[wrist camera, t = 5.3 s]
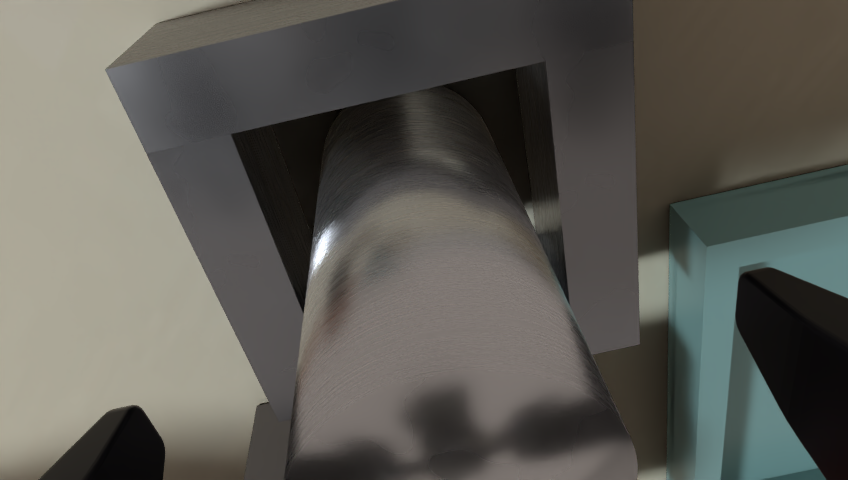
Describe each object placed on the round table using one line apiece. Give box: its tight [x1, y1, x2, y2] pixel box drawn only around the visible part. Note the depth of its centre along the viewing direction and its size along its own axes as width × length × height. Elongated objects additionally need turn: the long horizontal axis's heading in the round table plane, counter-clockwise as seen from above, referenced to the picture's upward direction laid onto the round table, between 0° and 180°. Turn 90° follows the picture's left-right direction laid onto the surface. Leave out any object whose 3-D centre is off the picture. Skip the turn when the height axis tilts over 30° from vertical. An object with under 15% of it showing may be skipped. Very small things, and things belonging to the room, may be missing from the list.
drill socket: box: [105, 0, 640, 422], centre depth 13 cm, size 8×8×3 cm
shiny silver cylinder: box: [284, 86, 638, 480], centre depth 11 cm, size 4×4×9 cm
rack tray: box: [666, 165, 848, 480], centre depth 18 cm, size 13×10×2 cm
